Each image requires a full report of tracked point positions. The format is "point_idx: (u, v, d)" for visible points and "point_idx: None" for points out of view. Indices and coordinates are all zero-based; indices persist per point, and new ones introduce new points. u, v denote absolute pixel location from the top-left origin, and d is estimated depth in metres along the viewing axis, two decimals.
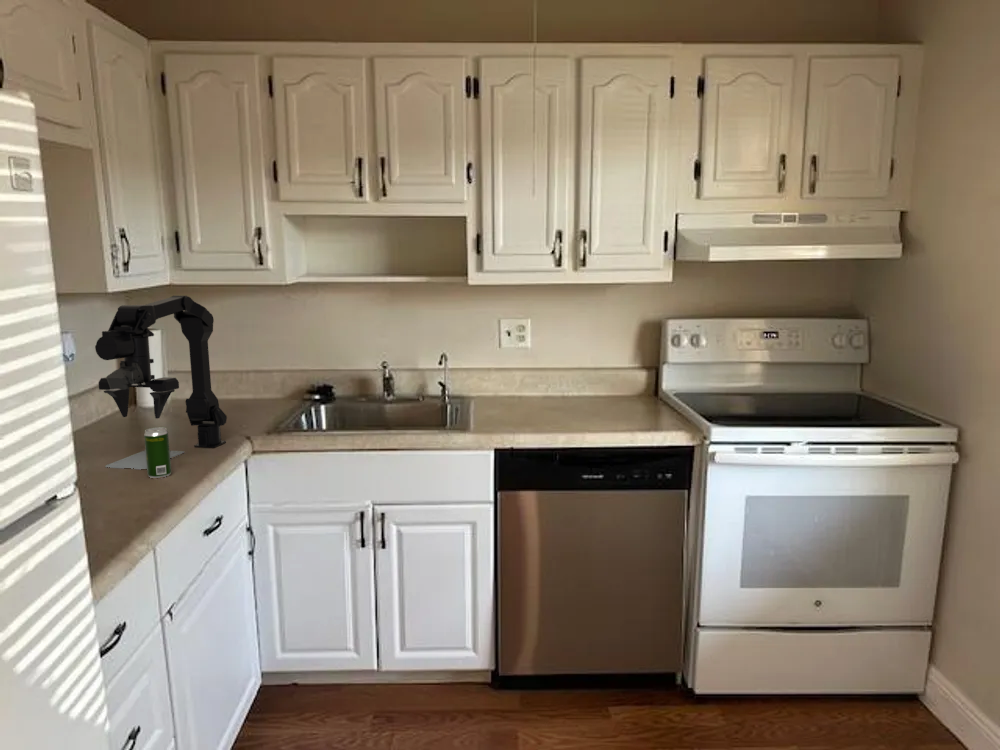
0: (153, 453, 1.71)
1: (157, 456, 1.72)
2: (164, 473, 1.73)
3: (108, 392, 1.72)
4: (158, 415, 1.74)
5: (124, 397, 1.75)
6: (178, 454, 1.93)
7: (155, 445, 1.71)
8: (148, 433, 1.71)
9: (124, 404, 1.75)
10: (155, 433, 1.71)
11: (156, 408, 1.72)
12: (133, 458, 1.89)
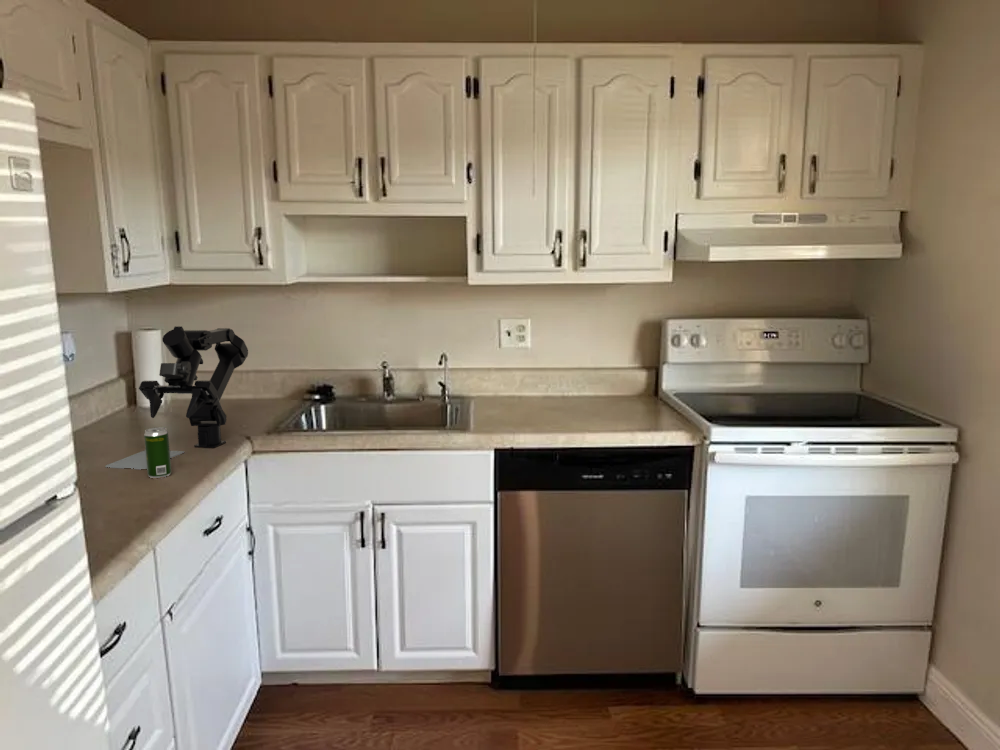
0: (153, 453, 1.71)
1: (157, 456, 1.72)
2: (164, 473, 1.73)
3: (148, 390, 1.82)
4: (189, 414, 1.80)
5: (157, 402, 1.84)
6: (178, 454, 1.93)
7: (155, 445, 1.71)
8: (148, 433, 1.71)
9: (155, 407, 1.82)
10: (155, 433, 1.71)
11: (191, 406, 1.81)
12: (133, 458, 1.89)
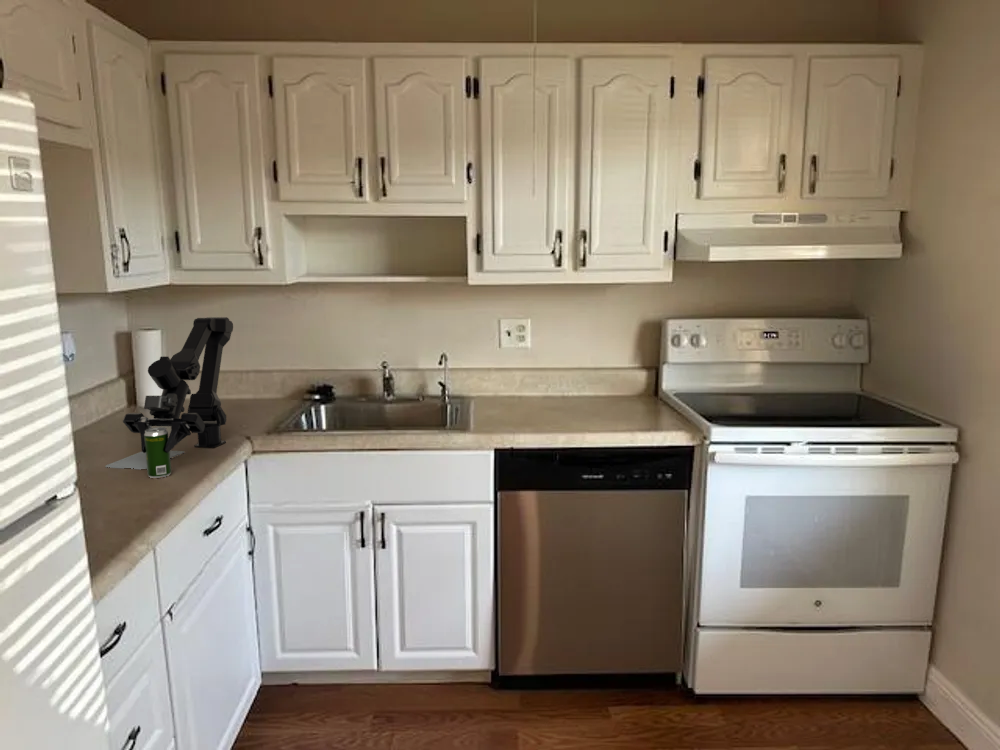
0: (153, 453, 1.71)
1: (157, 456, 1.72)
2: (164, 473, 1.73)
3: (139, 423, 1.74)
4: (168, 449, 1.73)
5: None
6: (178, 454, 1.93)
7: (155, 445, 1.71)
8: (148, 433, 1.71)
9: None
10: (155, 433, 1.71)
11: (170, 440, 1.73)
12: (133, 458, 1.89)
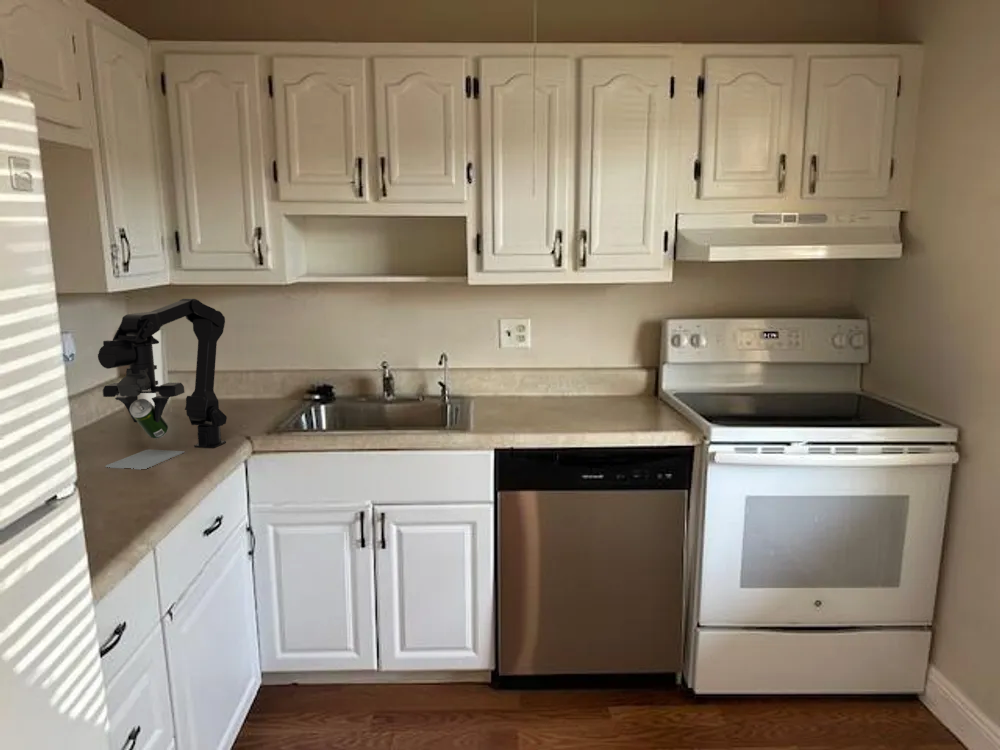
0: (146, 426, 1.81)
1: (150, 427, 1.81)
2: (162, 433, 1.86)
3: (120, 399, 1.78)
4: (158, 419, 1.81)
5: None
6: (178, 454, 1.93)
7: (146, 422, 1.79)
8: (134, 415, 1.77)
9: None
10: (141, 414, 1.77)
11: (157, 412, 1.80)
12: (133, 458, 1.89)
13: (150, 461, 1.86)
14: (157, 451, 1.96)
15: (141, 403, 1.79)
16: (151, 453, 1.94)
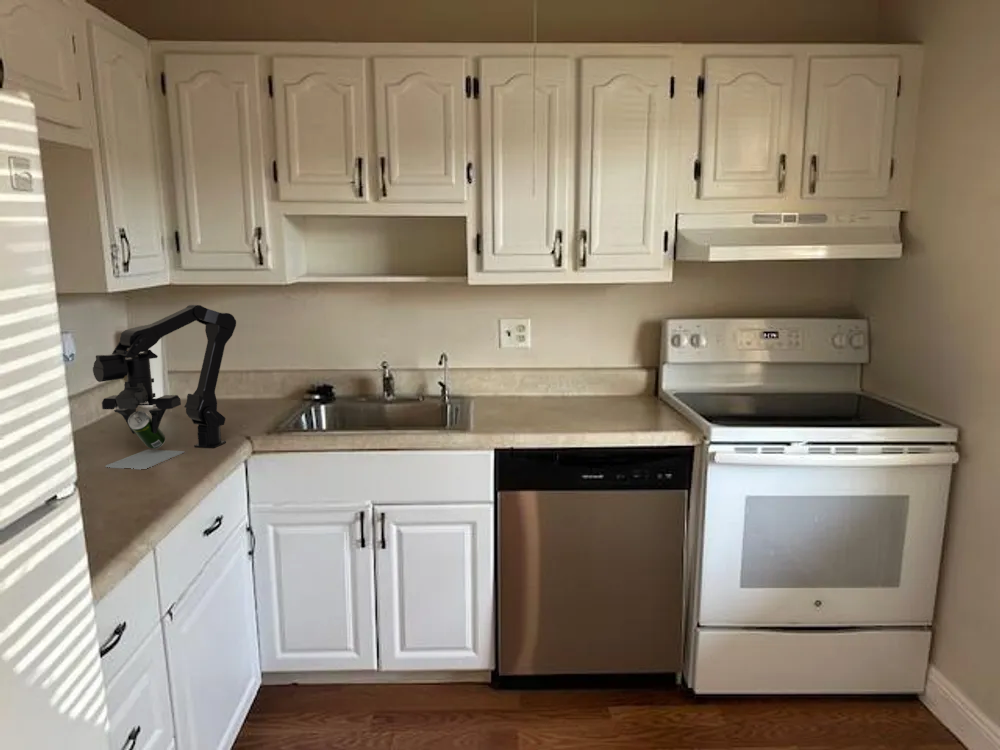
0: (144, 437, 1.87)
1: (148, 438, 1.88)
2: (160, 444, 1.92)
3: (119, 411, 1.84)
4: (156, 430, 1.88)
5: None
6: (178, 454, 1.93)
7: (143, 433, 1.86)
8: (132, 427, 1.83)
9: None
10: (139, 426, 1.83)
11: (154, 424, 1.86)
12: (133, 458, 1.89)
13: (150, 461, 1.86)
14: (157, 451, 1.96)
15: (139, 415, 1.85)
16: (151, 453, 1.94)
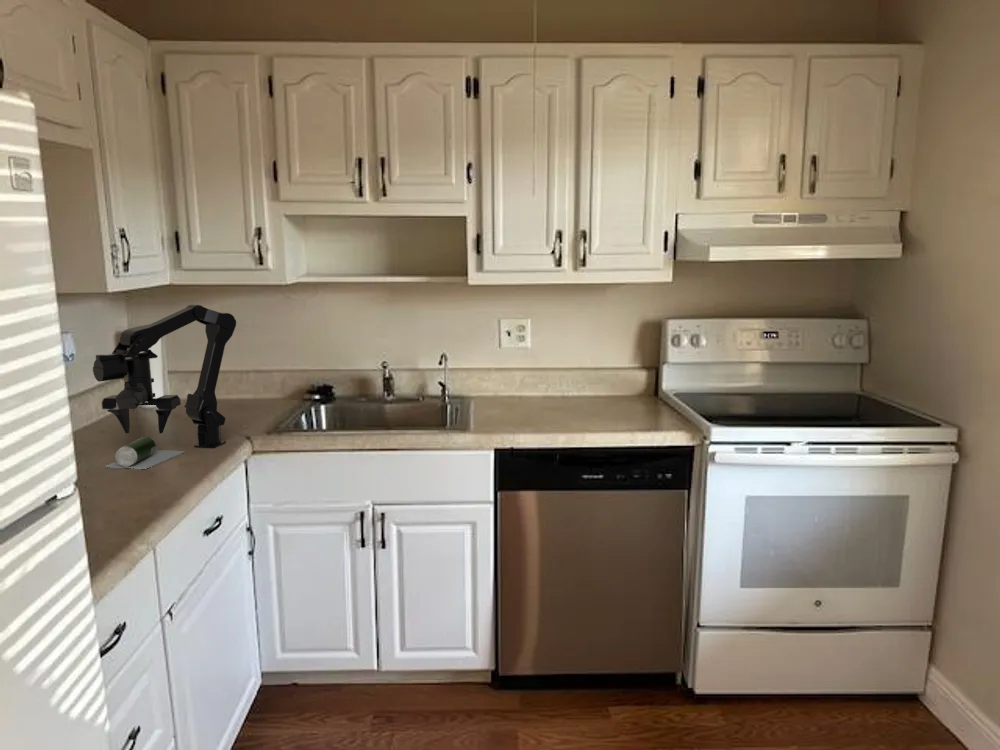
0: None
1: (145, 456, 1.86)
2: (155, 447, 1.91)
3: (112, 411, 1.84)
4: (162, 430, 1.87)
5: (126, 415, 1.88)
6: (178, 454, 1.93)
7: (139, 460, 1.84)
8: (128, 465, 1.81)
9: (126, 421, 1.88)
10: (133, 462, 1.81)
11: (160, 424, 1.86)
12: None
13: (150, 461, 1.86)
14: (157, 451, 1.96)
15: (123, 453, 1.80)
16: None
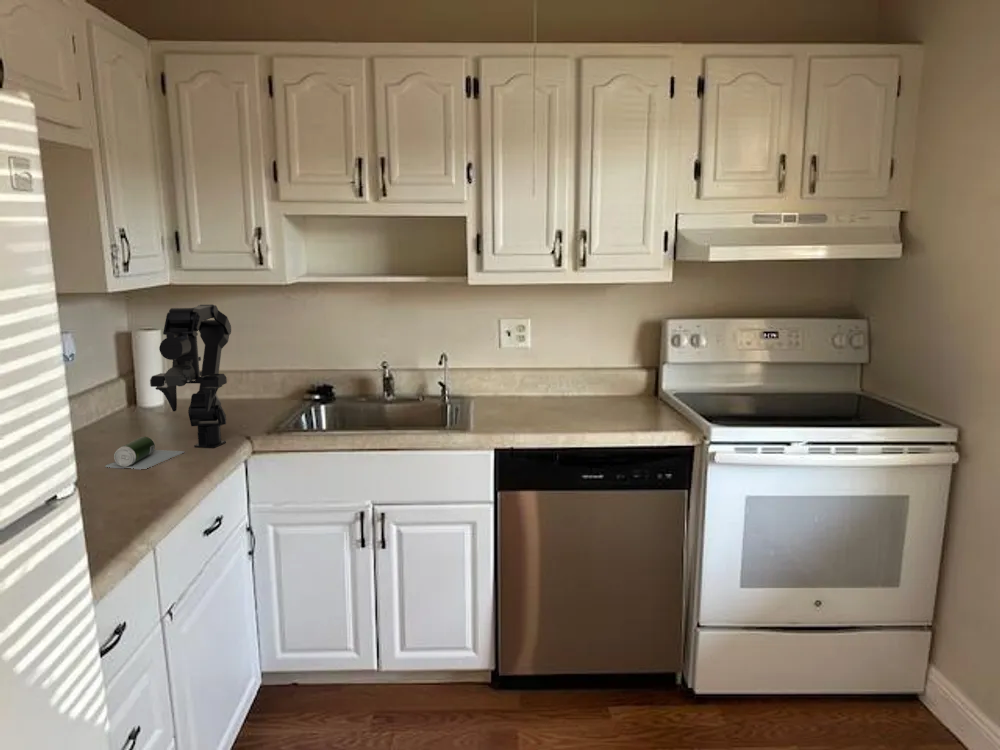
0: (141, 458, 1.86)
1: (144, 455, 1.86)
2: (153, 446, 1.91)
3: (160, 389, 1.86)
4: (208, 408, 1.89)
5: (173, 393, 1.89)
6: (178, 454, 1.93)
7: (139, 459, 1.84)
8: None
9: (174, 399, 1.89)
10: (133, 461, 1.81)
11: (207, 402, 1.88)
12: None
13: (150, 461, 1.86)
14: (157, 451, 1.96)
15: (121, 453, 1.80)
16: (151, 453, 1.94)
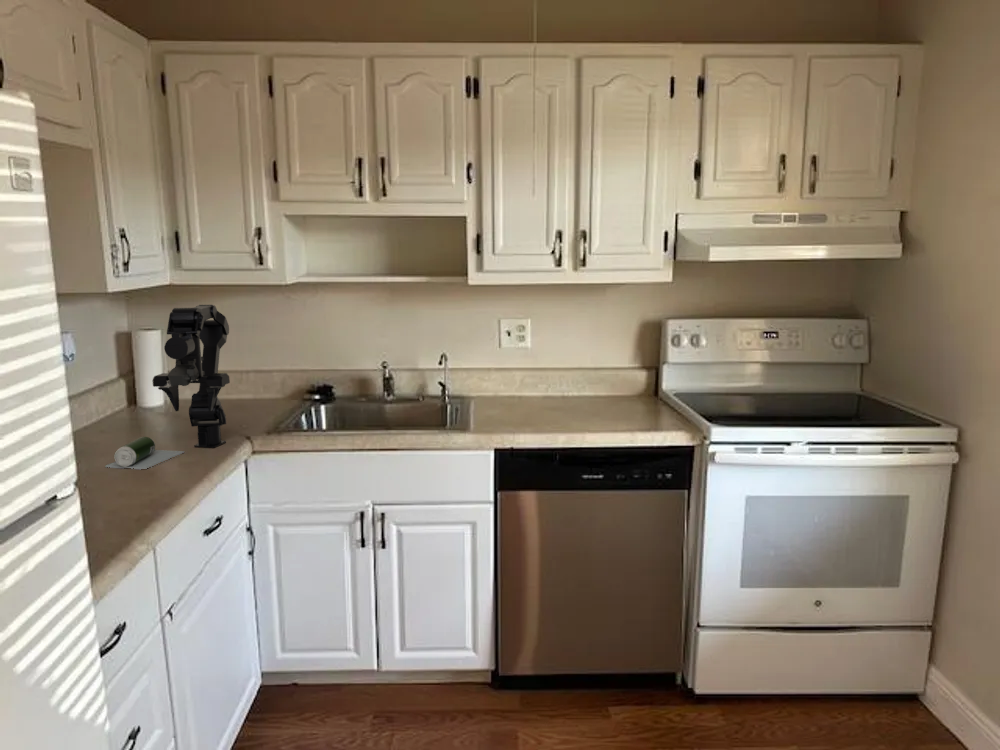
0: (141, 459, 1.86)
1: (144, 456, 1.86)
2: (154, 447, 1.91)
3: (163, 388, 1.86)
4: (211, 408, 1.89)
5: (175, 393, 1.89)
6: (178, 454, 1.93)
7: (139, 459, 1.84)
8: (128, 465, 1.81)
9: (176, 399, 1.89)
10: (133, 461, 1.81)
11: (210, 402, 1.88)
12: None
13: (150, 461, 1.86)
14: (157, 451, 1.96)
15: (121, 453, 1.80)
16: None
